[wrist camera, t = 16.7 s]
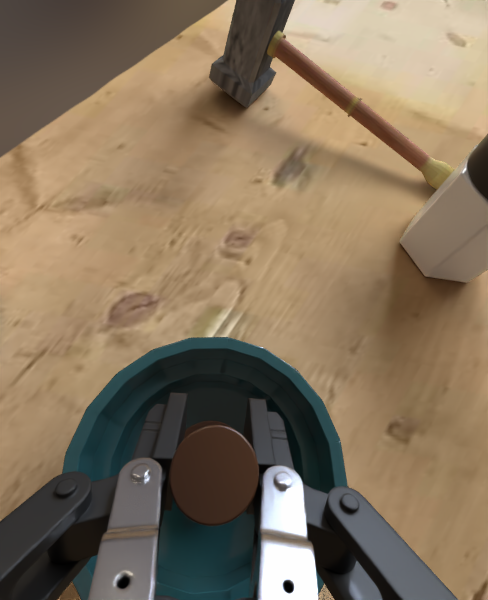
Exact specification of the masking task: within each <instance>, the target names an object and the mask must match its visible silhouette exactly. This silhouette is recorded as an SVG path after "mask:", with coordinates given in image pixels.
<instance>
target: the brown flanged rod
mask: <svg viewBox="0 0 488 600" xmlns="http://www.w3.org/2000/svg"><path fill="white" fill-rule="evenodd" d="M258 481H259V466H258V461H257V457H256V454H255V452H254V449H253V448H252V446H251V444H250V443H249V442H248V440H247V439H246V438H245V437H244V436H243V435H242V434H240V433H239V432H238V431H236V430H234V429H233V428H232V427H230V426H229V425H227V424H225V423H222V422H218V421H203V422H199V423H196V424H194V425H192V426H191V427H189V428H187V429H186V430H185V437H184V440H183V441H182V442H181V444H180V445H179V446H178V448H177V450H176V452H175V454H174V456H173V459H172V462H171V466H170V472H169V484H170V490H171V494H172V497H173V499H174V501H175V503H176V505H177V507H178V508H179V510H180V511H181V512H182V513H183V514H184V515H185V516H186V517H187V518H189V519H190V520H192V521H193V522H196V523H198V524H201V525H205V526H219V525H224V524H227V523H229V522H231V521H233V520H235V519H236V518H238V517H239V516H240V515H241V514H242V513H243V512H244V511H245V510H246V509H247V508H248V506H249V505H250V503H251V502H252V500H253V498H254V496H255V493H256V490H257V486H258Z"/></svg>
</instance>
